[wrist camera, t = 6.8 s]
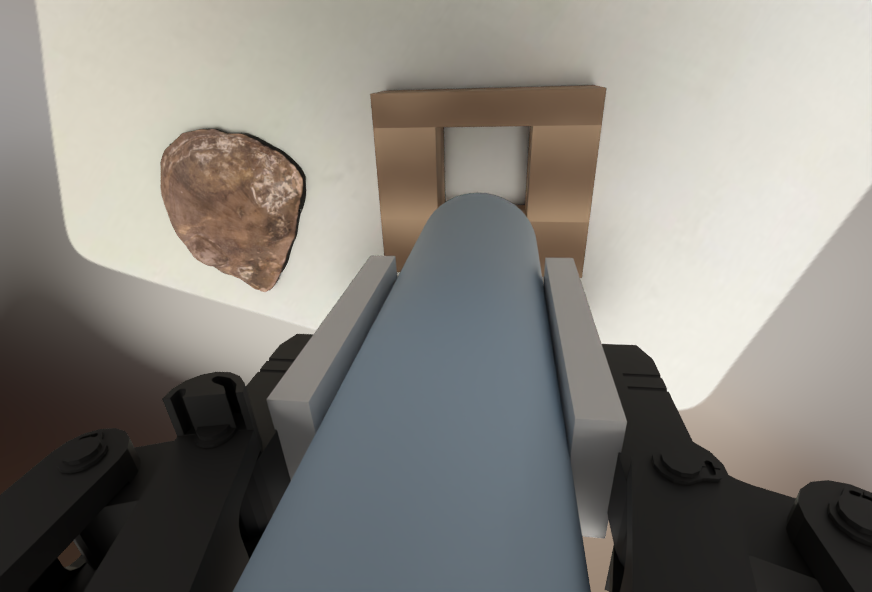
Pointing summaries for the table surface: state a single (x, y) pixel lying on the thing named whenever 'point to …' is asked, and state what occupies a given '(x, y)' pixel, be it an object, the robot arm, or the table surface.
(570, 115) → the socket station
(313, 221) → the table surface
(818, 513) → the robot arm
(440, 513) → the peg
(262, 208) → the shell
